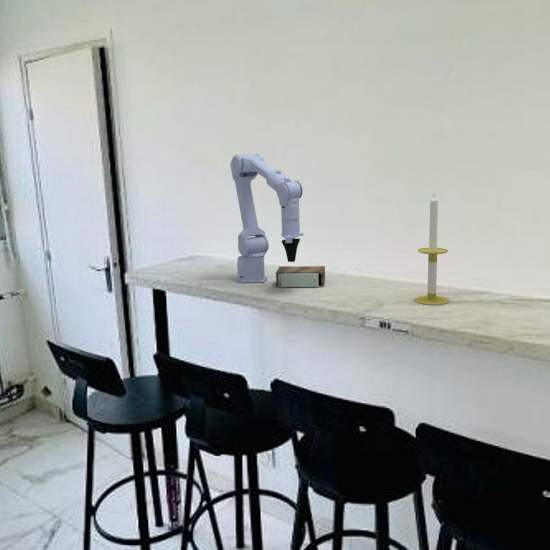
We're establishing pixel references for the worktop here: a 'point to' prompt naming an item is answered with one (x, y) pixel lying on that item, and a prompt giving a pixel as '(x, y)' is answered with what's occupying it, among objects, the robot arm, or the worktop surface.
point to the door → (298, 280)
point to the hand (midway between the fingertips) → (291, 261)
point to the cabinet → (302, 269)
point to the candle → (432, 259)
